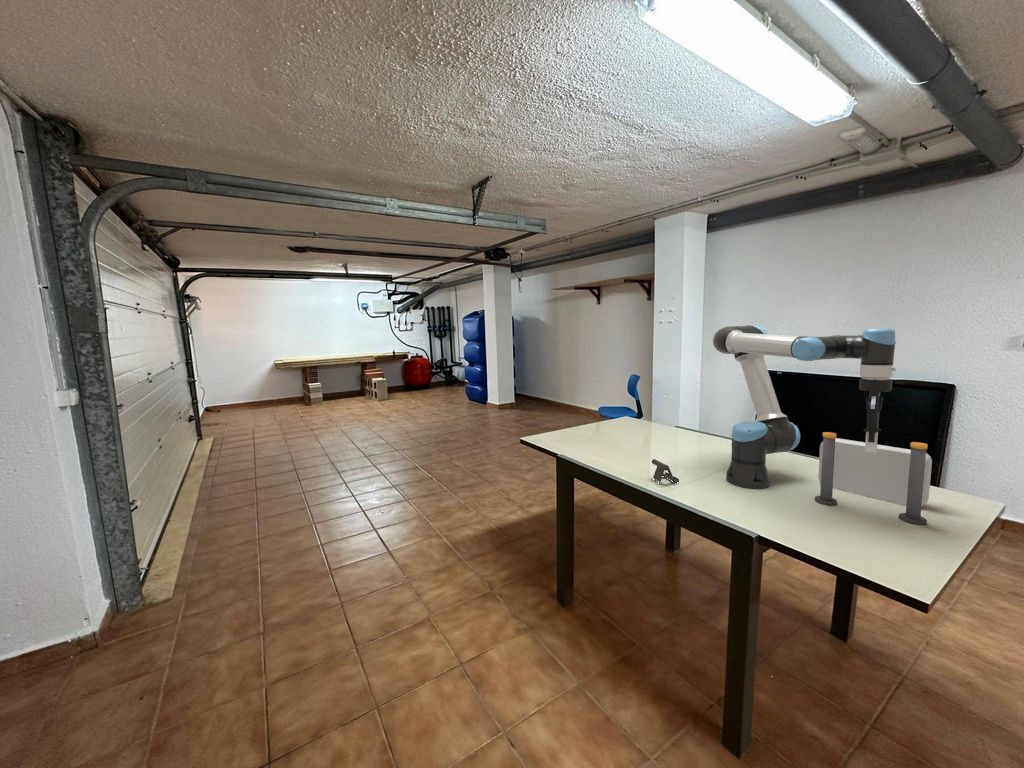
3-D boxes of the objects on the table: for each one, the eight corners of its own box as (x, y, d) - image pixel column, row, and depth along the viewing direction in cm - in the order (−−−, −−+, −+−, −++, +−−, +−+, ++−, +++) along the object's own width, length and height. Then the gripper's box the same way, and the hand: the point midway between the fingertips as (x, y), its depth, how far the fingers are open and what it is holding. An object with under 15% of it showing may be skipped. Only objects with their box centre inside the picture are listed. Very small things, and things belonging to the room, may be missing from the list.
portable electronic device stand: (679, 484, 156) (679, 463, 156) (661, 486, 155) (662, 466, 154) (665, 476, 165) (665, 457, 164) (649, 479, 163) (649, 459, 162)
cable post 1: (813, 502, 135) (816, 434, 132) (816, 496, 140) (819, 430, 137) (835, 507, 131) (839, 436, 128) (838, 501, 135) (842, 433, 132)
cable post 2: (898, 520, 120) (904, 444, 118) (899, 514, 125) (905, 440, 122) (926, 527, 116) (933, 447, 113) (926, 519, 120) (933, 443, 117)
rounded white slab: (929, 504, 131) (934, 451, 129) (923, 510, 127) (928, 456, 124) (825, 480, 155) (828, 435, 152) (817, 484, 150) (820, 438, 148)
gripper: (891, 381, 115) (885, 458, 118) (893, 376, 124) (887, 448, 127) (857, 379, 121) (853, 454, 124) (861, 375, 130) (857, 445, 133)
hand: (870, 451), depth 125 cm, fingers closed
